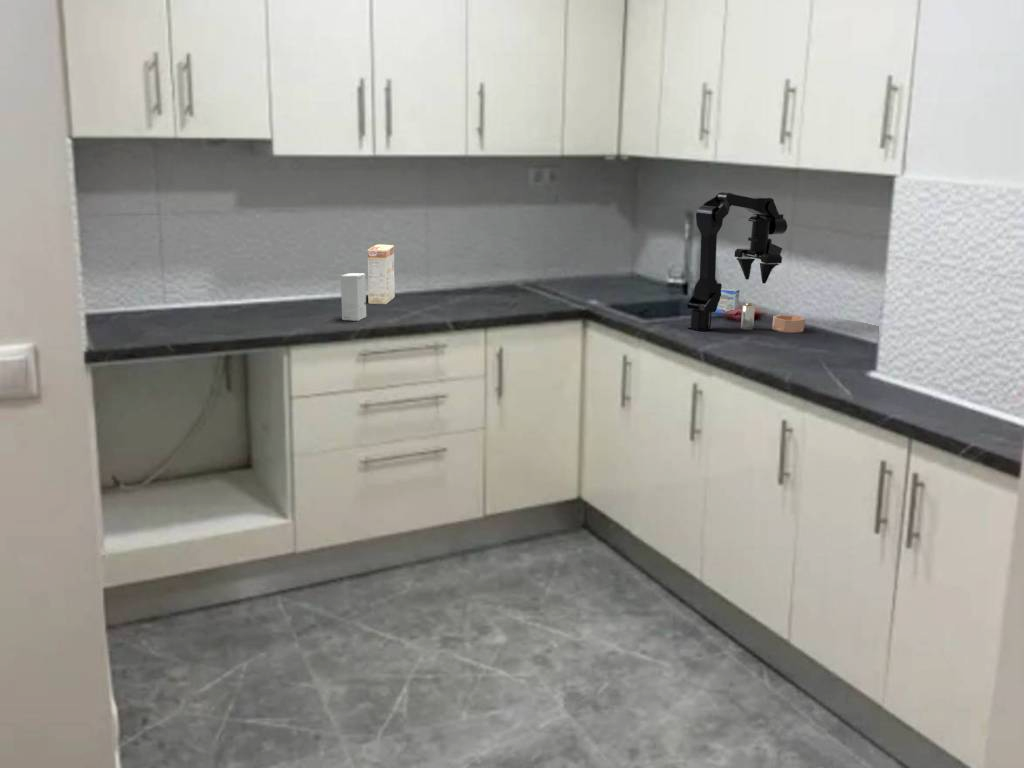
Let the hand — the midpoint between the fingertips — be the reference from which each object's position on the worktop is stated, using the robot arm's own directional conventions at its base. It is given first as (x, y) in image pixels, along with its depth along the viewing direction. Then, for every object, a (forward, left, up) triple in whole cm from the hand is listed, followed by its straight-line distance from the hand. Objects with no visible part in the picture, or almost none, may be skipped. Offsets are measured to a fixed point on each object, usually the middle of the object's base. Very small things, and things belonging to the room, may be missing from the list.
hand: (755, 281), depth 351 cm
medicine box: (+5, +15, -14) cm, 21 cm away
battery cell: (-11, -7, -14) cm, 19 cm away
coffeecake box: (-84, +102, -14) cm, 133 cm away
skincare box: (-110, +77, -14) cm, 135 cm away
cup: (-1, -16, -14) cm, 21 cm away
